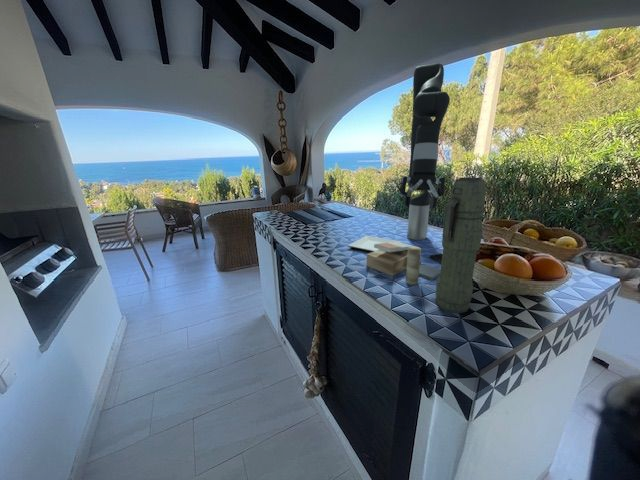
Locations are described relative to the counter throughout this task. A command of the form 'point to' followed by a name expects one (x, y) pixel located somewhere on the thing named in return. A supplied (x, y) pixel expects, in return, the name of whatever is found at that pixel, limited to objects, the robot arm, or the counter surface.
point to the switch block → (388, 261)
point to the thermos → (460, 244)
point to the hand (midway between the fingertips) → (419, 208)
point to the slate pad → (428, 272)
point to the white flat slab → (392, 246)
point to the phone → (436, 258)
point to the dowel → (413, 265)
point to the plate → (370, 243)
